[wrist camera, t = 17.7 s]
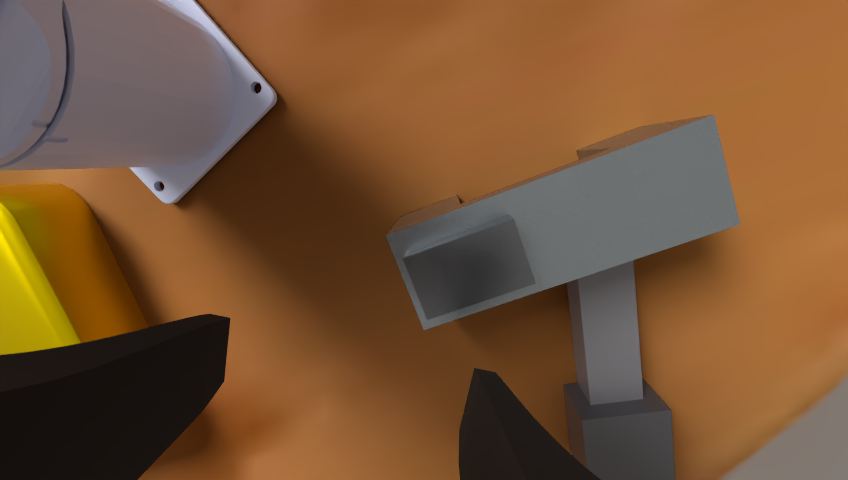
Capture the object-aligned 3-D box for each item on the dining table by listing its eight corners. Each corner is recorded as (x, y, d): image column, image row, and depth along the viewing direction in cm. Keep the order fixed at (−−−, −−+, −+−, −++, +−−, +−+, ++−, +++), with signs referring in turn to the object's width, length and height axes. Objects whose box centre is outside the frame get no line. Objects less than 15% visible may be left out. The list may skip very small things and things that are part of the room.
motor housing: (400, 216, 20) (380, 242, 14) (639, 126, 18) (739, 109, 12) (429, 288, 21) (422, 344, 14) (661, 207, 19) (767, 230, 13)
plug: (548, 259, 20) (566, 276, 17) (630, 247, 20) (662, 262, 17) (572, 464, 22) (591, 510, 19) (645, 456, 22) (676, 502, 19)
